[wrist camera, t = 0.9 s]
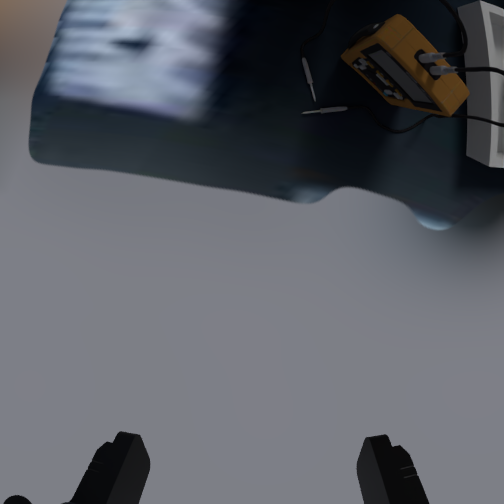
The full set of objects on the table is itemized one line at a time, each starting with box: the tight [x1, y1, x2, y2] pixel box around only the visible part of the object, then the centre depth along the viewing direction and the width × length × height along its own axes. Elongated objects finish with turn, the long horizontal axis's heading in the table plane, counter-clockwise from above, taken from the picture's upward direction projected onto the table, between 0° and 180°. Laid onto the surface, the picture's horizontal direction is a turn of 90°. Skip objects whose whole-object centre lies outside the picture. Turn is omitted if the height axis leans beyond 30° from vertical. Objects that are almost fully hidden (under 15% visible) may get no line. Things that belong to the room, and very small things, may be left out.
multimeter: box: [301, 0, 504, 133], centre depth 19 cm, size 15×10×20 cm
